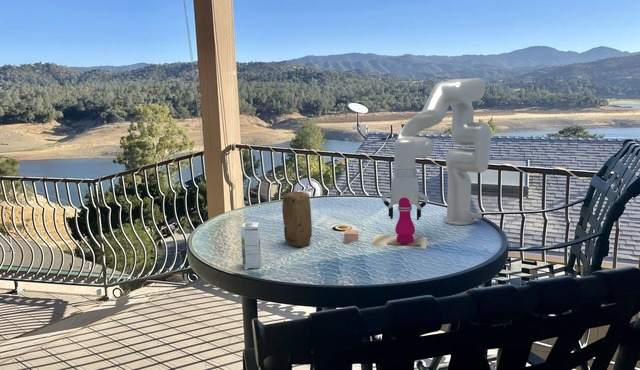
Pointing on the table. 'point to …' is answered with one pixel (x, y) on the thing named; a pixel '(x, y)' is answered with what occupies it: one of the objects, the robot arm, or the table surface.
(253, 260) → the syrup box
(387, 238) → the board
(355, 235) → the block
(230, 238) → the table surface
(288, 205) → the block
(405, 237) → the pepper mill
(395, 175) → the robot arm
